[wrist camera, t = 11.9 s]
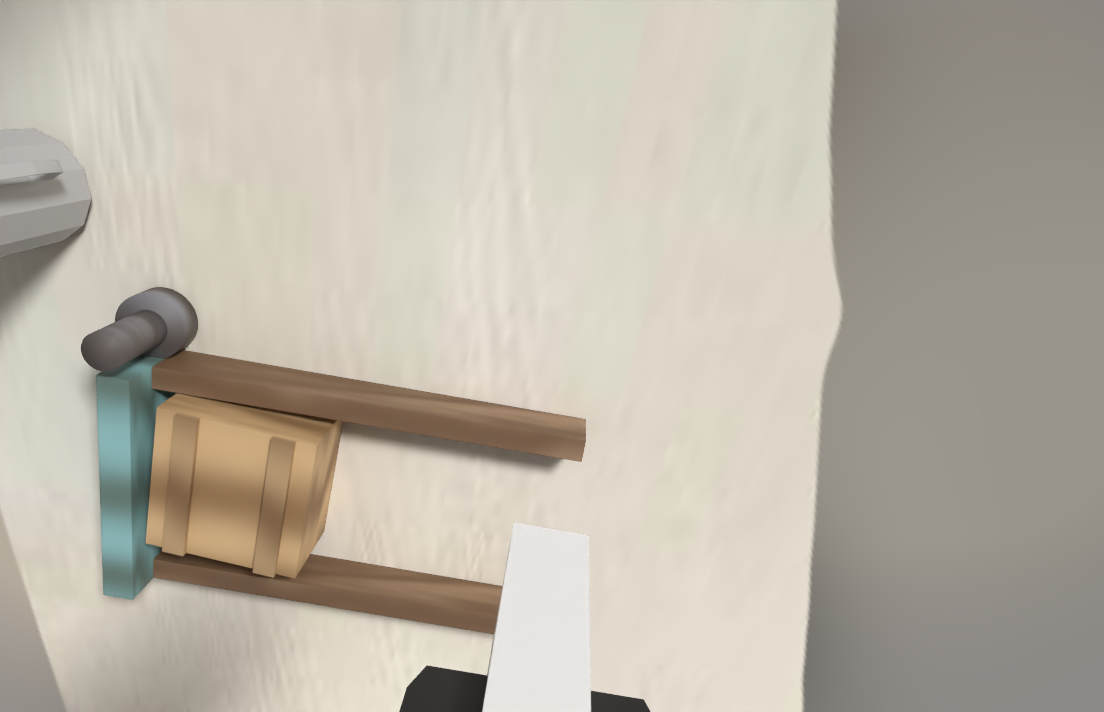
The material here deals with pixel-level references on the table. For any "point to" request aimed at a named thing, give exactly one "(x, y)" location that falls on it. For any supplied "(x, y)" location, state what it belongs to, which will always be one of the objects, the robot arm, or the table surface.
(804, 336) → the table surface
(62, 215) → the water bottle
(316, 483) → the crate
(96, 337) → the bay
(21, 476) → the table surface
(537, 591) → the robot arm
